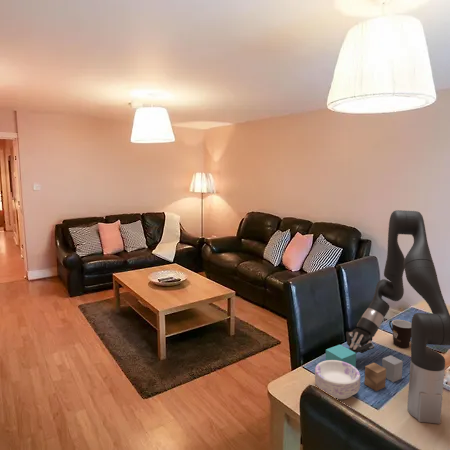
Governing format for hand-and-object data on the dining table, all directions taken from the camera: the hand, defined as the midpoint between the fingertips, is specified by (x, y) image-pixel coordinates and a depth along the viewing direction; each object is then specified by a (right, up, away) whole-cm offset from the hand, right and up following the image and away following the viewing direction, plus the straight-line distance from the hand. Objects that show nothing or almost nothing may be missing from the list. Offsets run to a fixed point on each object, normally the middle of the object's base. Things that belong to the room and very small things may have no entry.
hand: (348, 358), depth 135 cm
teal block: (-4, -4, -2) cm, 6 cm away
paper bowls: (-10, -6, -14) cm, 19 cm away
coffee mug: (+31, -1, +19) cm, 36 cm away
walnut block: (+5, -6, -11) cm, 14 cm away
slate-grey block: (+14, -5, -6) cm, 16 cm away
